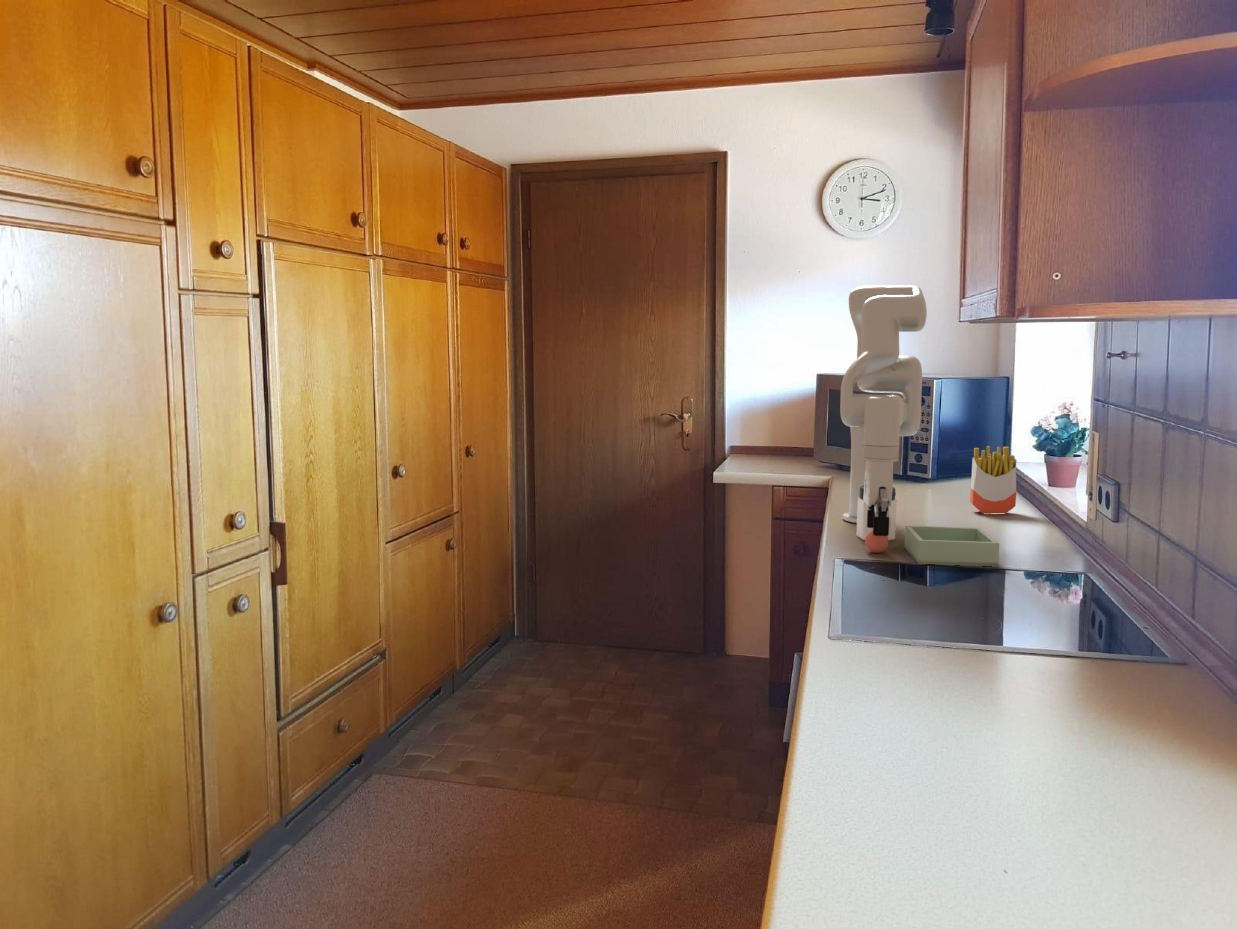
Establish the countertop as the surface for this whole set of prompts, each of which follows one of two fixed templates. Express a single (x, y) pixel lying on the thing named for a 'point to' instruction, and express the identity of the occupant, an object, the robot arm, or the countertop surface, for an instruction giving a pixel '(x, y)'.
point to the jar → (862, 516)
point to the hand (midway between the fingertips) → (877, 531)
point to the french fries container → (993, 481)
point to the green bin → (951, 546)
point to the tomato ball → (876, 542)
